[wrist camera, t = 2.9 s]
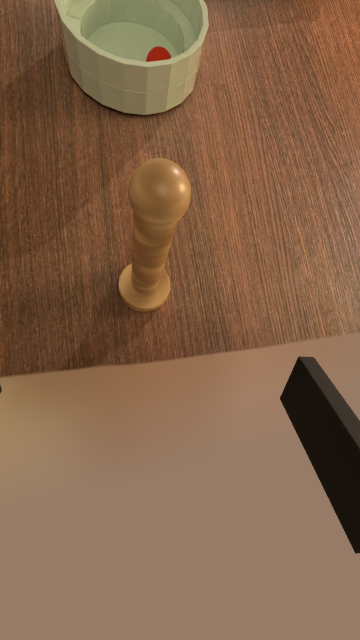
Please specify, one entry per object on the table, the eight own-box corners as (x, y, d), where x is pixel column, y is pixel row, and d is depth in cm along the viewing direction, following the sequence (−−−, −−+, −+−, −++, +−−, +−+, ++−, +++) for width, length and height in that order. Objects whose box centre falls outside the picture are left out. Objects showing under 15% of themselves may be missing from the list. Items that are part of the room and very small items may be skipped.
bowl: (37, 63, 34) (19, -3, 28) (119, -5, 38) (117, -76, 32) (149, 142, 34) (153, 93, 28) (218, 65, 38) (234, 9, 33)
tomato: (140, 77, 35) (141, 49, 32) (154, 62, 36) (157, 34, 33) (161, 92, 35) (164, 66, 32) (175, 77, 36) (179, 50, 33)
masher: (108, 292, 30) (84, 176, 13) (138, 255, 31) (149, 108, 15) (150, 321, 30) (178, 242, 13) (177, 283, 31) (234, 167, 15)
